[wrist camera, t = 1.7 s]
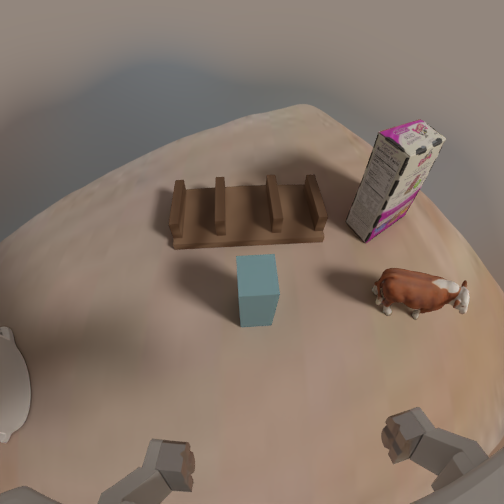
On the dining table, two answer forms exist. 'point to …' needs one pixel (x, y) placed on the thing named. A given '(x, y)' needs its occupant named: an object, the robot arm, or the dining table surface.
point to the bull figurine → (419, 291)
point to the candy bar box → (393, 176)
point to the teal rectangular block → (257, 289)
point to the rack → (247, 214)
